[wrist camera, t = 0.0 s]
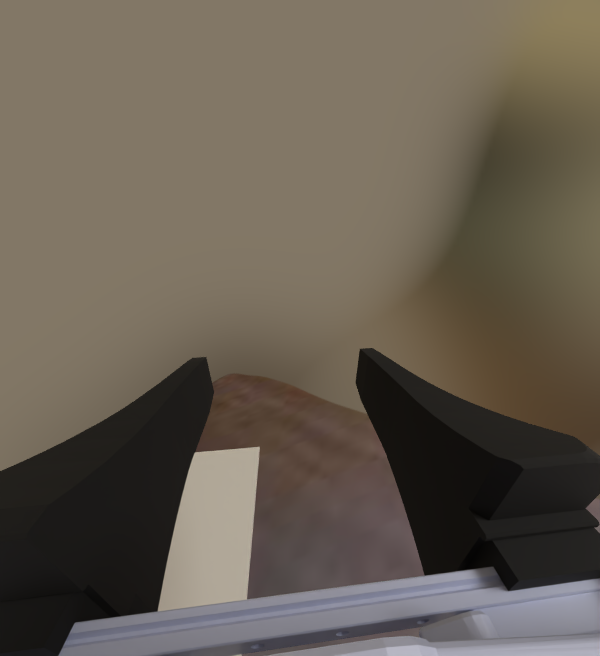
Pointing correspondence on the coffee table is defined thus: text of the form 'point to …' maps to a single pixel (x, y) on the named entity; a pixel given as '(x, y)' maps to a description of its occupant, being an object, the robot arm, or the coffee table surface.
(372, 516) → the coffee table surface
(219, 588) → the mat
